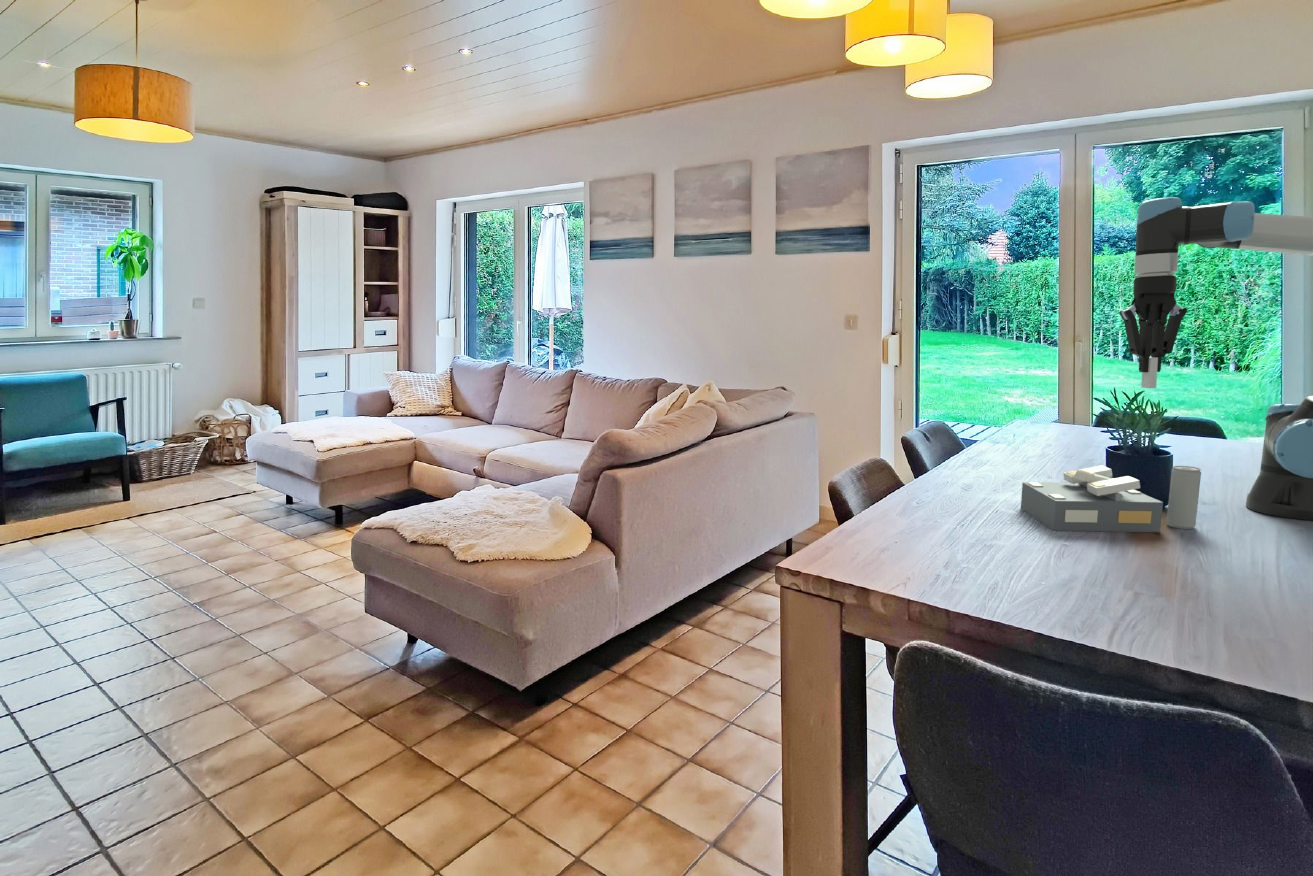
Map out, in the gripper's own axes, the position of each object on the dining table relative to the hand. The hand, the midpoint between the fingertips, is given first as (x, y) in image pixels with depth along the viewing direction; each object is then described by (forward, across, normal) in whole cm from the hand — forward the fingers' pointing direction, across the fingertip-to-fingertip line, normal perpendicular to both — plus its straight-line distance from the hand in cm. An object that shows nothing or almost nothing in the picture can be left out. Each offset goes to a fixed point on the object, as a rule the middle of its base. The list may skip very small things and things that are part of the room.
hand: (1148, 387), depth 162 cm
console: (+26, +17, +9) cm, 33 cm away
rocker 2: (+18, +15, +9) cm, 25 cm away
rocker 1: (+18, +14, +4) cm, 23 cm away
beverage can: (+27, +1, +14) cm, 31 cm away
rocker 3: (+18, +15, +15) cm, 28 cm away
